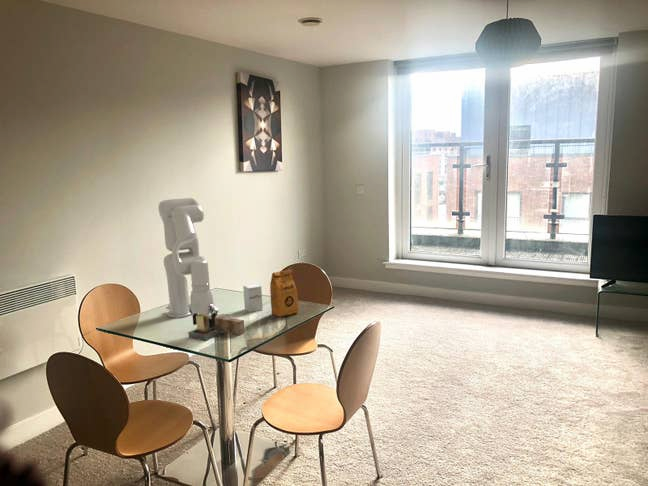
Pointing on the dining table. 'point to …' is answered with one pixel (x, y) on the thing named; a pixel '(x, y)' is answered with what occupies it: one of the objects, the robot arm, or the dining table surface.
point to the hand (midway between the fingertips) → (204, 325)
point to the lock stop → (203, 324)
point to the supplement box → (253, 297)
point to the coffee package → (283, 294)
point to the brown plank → (230, 325)
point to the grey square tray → (204, 337)
